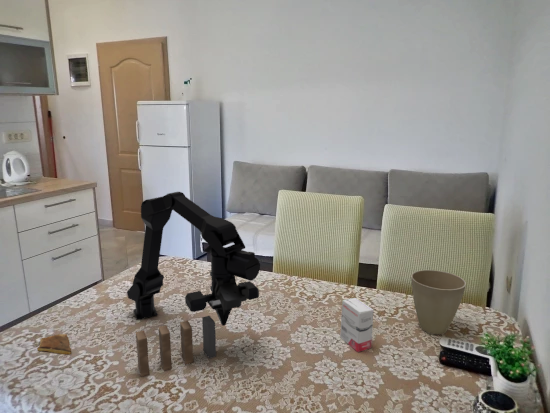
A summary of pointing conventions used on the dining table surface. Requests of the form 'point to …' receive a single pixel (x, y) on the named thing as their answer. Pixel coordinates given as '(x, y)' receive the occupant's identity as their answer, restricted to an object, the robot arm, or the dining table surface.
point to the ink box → (356, 324)
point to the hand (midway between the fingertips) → (223, 324)
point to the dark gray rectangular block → (209, 337)
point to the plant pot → (436, 298)
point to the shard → (55, 344)
